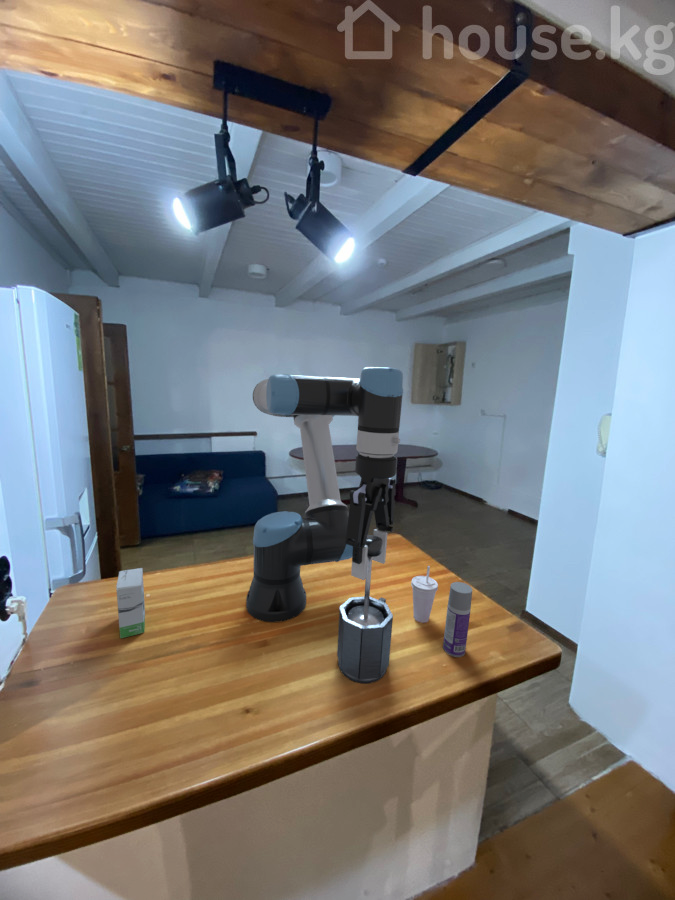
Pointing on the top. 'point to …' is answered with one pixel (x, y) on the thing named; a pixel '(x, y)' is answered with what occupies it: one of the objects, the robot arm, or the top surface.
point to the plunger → (368, 589)
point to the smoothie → (423, 596)
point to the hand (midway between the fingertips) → (368, 568)
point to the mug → (364, 643)
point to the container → (457, 619)
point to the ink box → (131, 602)
